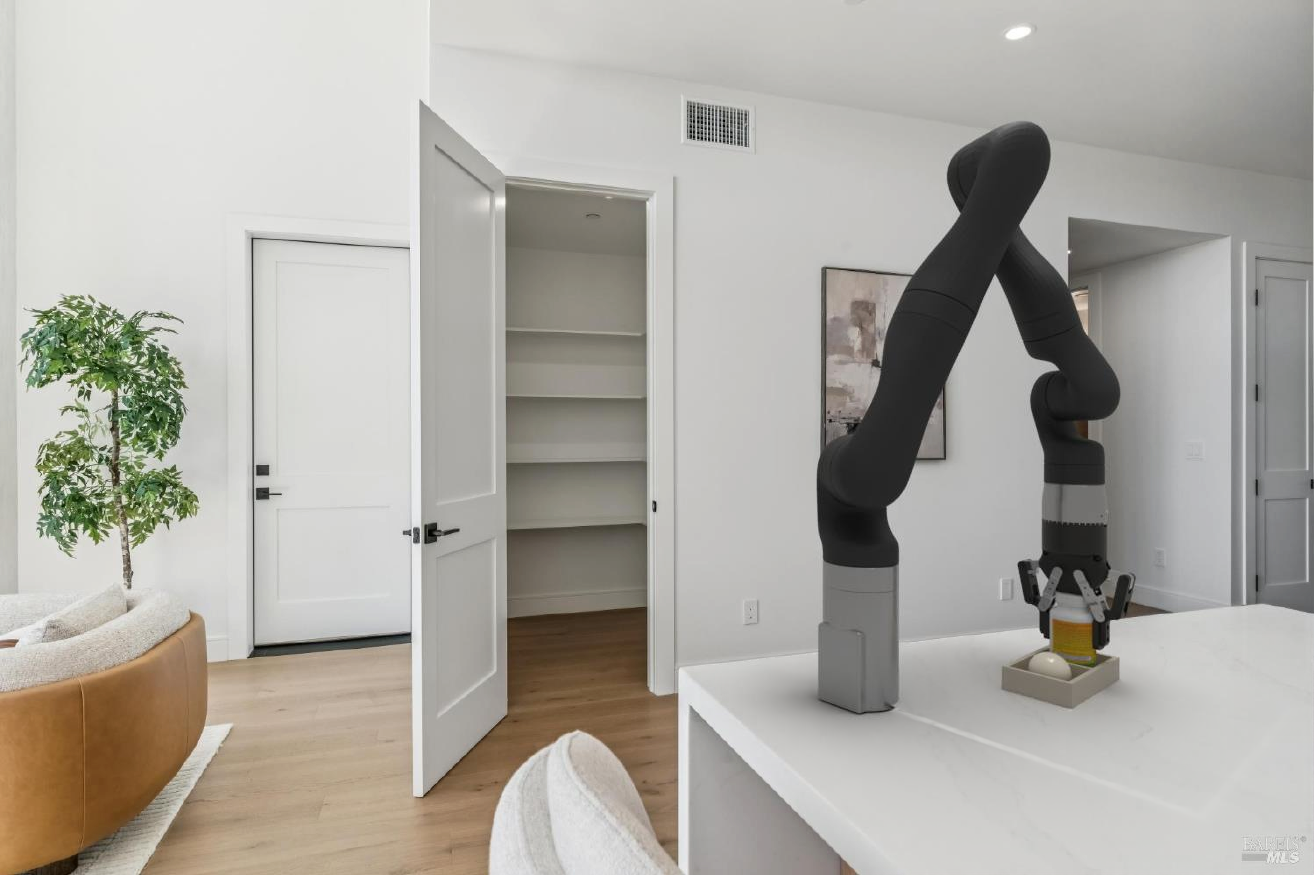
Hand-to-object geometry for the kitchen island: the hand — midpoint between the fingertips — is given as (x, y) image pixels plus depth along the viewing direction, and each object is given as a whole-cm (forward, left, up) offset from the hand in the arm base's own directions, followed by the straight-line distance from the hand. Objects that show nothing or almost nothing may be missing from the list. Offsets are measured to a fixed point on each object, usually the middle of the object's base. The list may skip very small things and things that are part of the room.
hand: (1073, 642), depth 92 cm
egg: (-8, 0, -5) cm, 9 cm away
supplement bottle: (0, 0, -3) cm, 3 cm away
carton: (-4, 0, -5) cm, 6 cm away
